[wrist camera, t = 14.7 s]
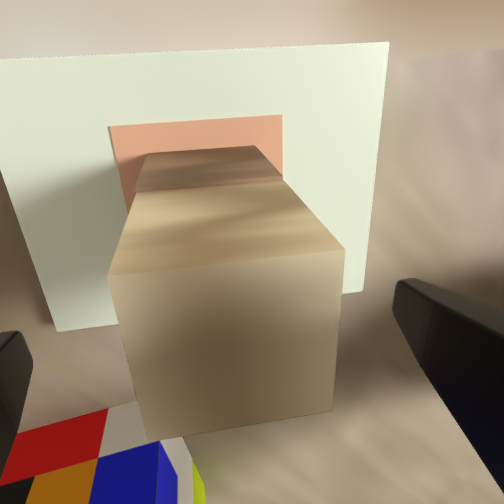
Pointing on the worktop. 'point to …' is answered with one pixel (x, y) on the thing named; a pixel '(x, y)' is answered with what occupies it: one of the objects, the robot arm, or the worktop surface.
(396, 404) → the worktop surface
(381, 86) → the plate
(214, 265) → the maple block
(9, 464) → the puzzle toy
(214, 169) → the walnut block
